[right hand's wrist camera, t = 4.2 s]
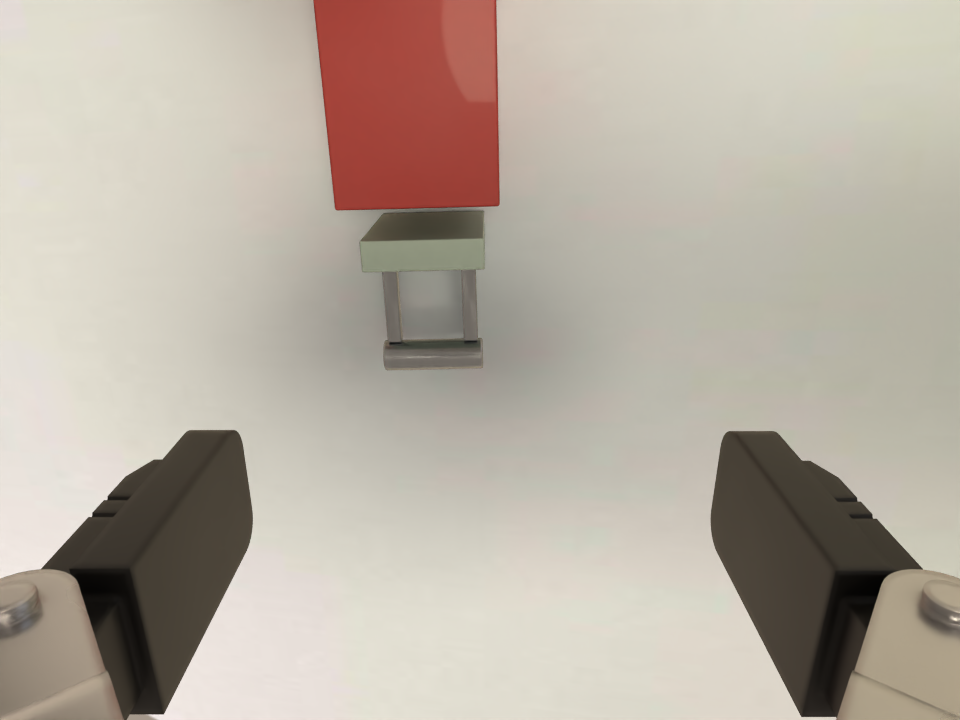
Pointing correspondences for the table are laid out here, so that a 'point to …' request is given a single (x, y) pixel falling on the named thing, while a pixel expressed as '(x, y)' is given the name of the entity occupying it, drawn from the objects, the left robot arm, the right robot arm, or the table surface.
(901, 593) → the right robot arm
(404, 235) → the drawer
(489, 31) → the cabinet
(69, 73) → the table surface
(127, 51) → the table surface
